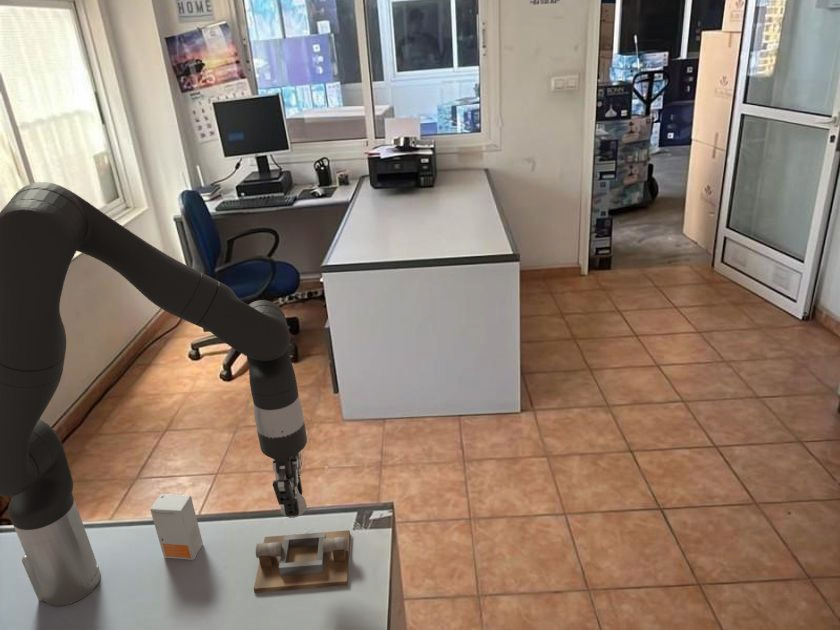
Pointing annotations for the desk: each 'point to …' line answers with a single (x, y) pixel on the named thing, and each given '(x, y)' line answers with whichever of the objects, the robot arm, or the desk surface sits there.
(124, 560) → the desk surface
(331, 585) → the frame on base plate
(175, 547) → the skincare box
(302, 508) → the rook chess piece
